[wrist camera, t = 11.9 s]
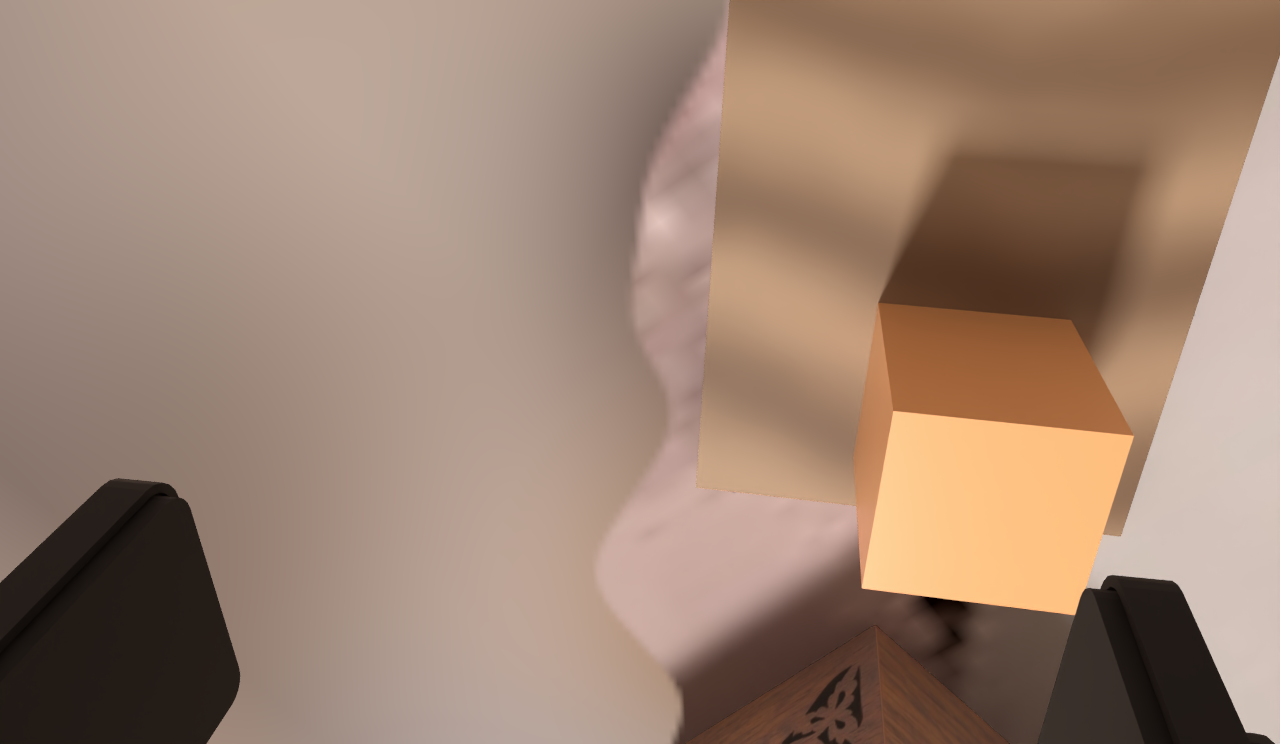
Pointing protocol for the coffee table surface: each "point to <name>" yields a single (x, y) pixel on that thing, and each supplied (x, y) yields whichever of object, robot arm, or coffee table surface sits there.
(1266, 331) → the coffee table surface
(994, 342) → the orange wooden cube
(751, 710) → the tissue box cover
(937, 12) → the tan wooden board
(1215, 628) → the coffee table surface
